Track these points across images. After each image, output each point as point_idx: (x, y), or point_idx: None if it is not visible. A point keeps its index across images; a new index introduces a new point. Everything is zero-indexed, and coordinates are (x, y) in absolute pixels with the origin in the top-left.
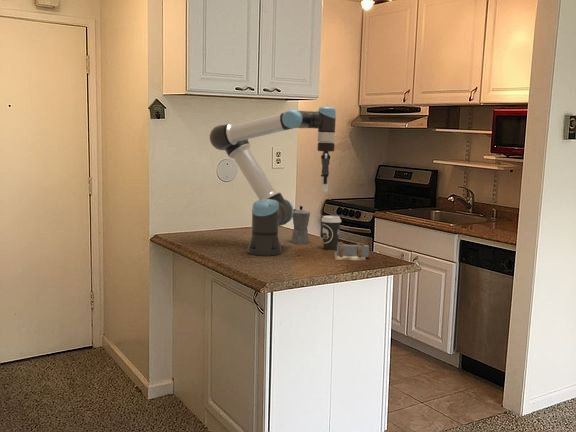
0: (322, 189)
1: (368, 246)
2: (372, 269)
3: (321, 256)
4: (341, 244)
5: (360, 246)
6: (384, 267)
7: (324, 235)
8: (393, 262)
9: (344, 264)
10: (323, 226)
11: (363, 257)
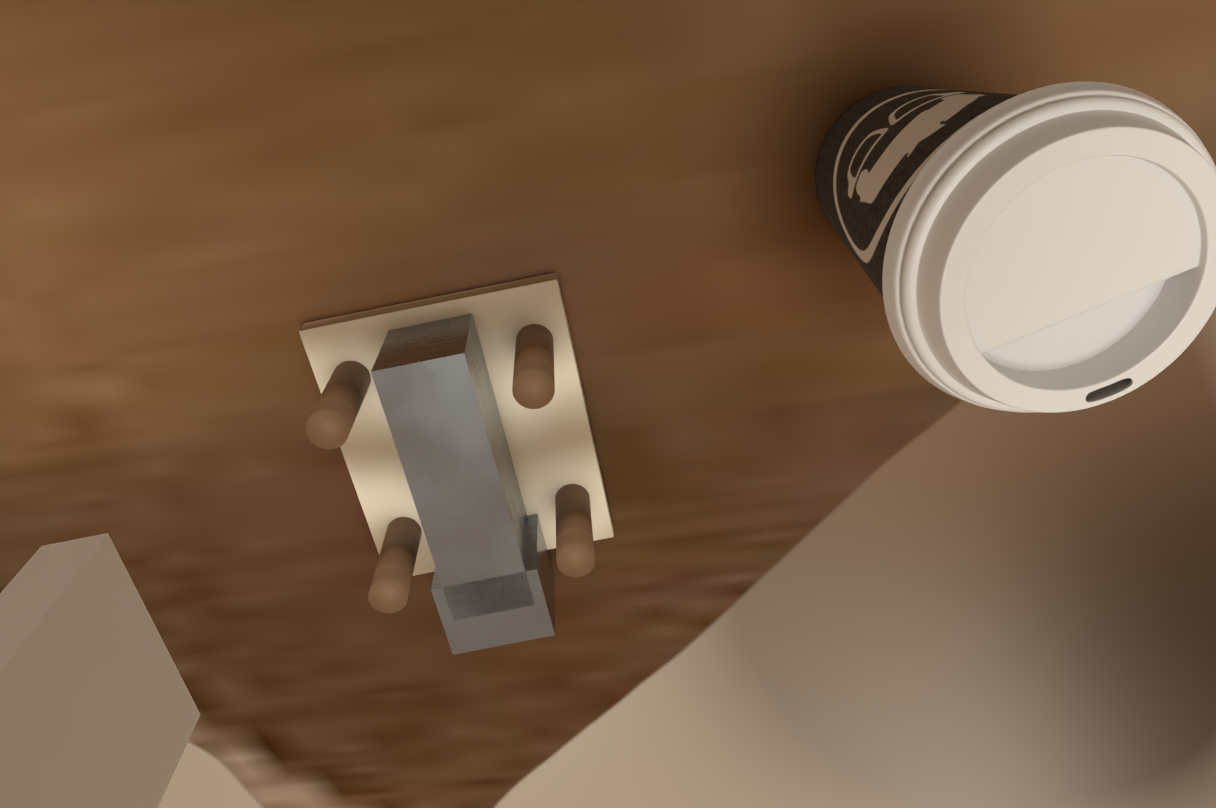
0: (8, 620)
1: (480, 647)
2: None
3: (392, 157)
4: (470, 402)
5: (371, 603)
6: (203, 715)
7: (886, 131)
8: (424, 748)
9: (131, 433)
10: (943, 131)
11: (416, 560)
